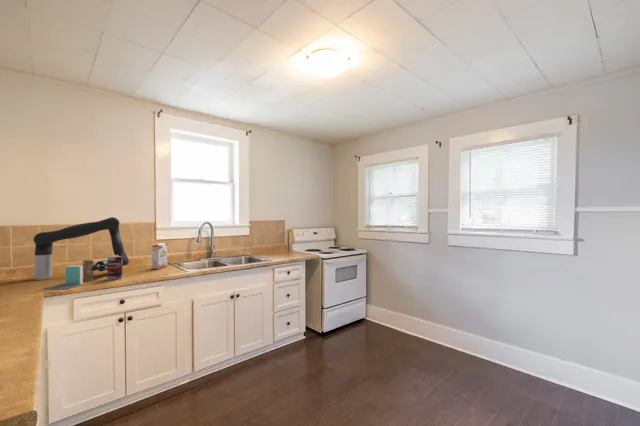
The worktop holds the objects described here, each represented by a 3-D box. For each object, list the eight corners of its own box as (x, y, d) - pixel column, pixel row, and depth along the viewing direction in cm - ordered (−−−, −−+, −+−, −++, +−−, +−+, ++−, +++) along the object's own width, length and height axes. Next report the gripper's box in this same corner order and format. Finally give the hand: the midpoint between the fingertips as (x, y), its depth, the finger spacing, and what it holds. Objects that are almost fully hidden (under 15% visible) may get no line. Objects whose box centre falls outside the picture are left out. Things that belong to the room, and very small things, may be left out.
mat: (44, 289, 186) (44, 288, 186) (62, 284, 198) (62, 283, 198) (65, 289, 185) (65, 288, 185) (82, 284, 197) (82, 284, 197)
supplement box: (107, 280, 211) (107, 257, 211) (108, 278, 215) (108, 256, 215) (121, 278, 215) (121, 256, 215) (122, 277, 219) (122, 255, 219)
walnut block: (83, 281, 208) (83, 260, 208) (88, 279, 212) (87, 259, 212) (88, 281, 208) (88, 260, 208) (93, 279, 212) (93, 259, 212)
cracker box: (158, 269, 250) (158, 244, 250) (151, 269, 250) (151, 244, 250) (167, 266, 264) (167, 242, 264) (160, 266, 264) (160, 242, 264)
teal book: (65, 284, 198) (65, 266, 198) (68, 283, 201) (68, 265, 201) (79, 284, 198) (79, 266, 198) (82, 283, 200) (82, 265, 200)
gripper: (95, 260, 225) (76, 263, 209) (113, 260, 224) (96, 264, 208) (95, 270, 225) (76, 274, 209) (113, 270, 224) (96, 274, 208)
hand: (86, 269), depth 209 cm, fingers open, 8 cm apart
